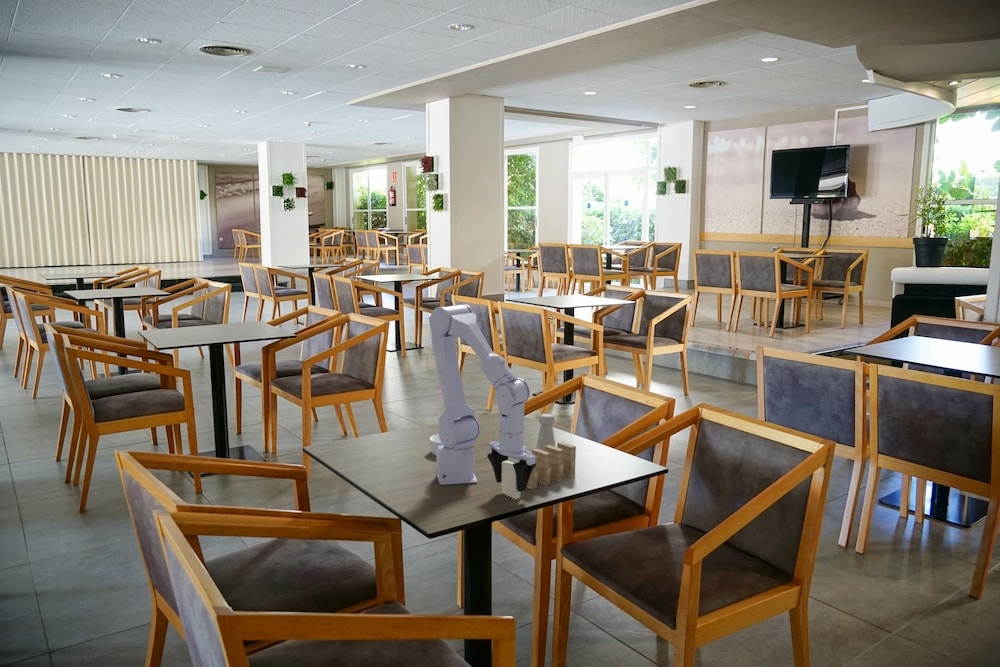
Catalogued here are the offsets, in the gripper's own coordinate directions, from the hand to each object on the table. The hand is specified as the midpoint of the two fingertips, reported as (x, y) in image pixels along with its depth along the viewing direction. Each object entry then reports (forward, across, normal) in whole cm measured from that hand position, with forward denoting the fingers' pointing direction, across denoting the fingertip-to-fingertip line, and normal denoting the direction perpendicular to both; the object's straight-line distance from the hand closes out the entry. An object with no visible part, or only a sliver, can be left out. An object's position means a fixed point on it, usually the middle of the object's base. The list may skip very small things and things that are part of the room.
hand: (511, 486), depth 184 cm
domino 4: (+2, +2, -21) cm, 21 cm away
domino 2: (+2, +2, -12) cm, 12 cm away
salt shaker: (+3, +13, -24) cm, 28 cm away
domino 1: (+2, +2, -8) cm, 8 cm away
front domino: (+2, 0, 0) cm, 2 cm away
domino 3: (+2, +2, -16) cm, 17 cm away
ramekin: (+3, +36, -8) cm, 37 cm away
